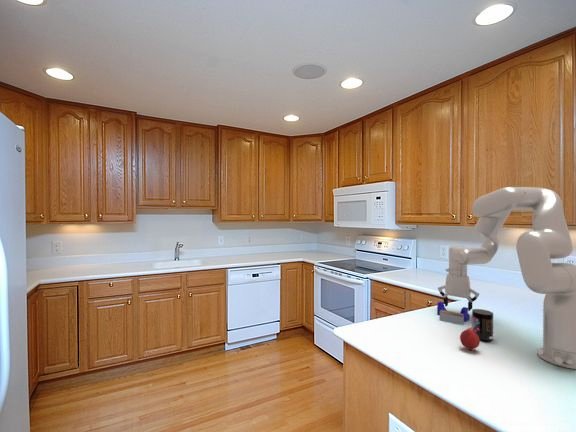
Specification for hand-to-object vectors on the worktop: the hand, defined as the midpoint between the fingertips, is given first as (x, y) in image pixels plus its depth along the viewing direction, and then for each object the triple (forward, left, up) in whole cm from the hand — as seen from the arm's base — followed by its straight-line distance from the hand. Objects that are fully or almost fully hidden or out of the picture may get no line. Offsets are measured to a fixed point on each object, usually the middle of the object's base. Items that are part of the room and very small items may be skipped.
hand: (457, 308), depth 137 cm
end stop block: (-13, 0, -3) cm, 13 cm away
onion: (-40, -11, -3) cm, 41 cm away
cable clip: (-6, +1, -3) cm, 7 cm away
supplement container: (-26, -13, -3) cm, 29 cm away
